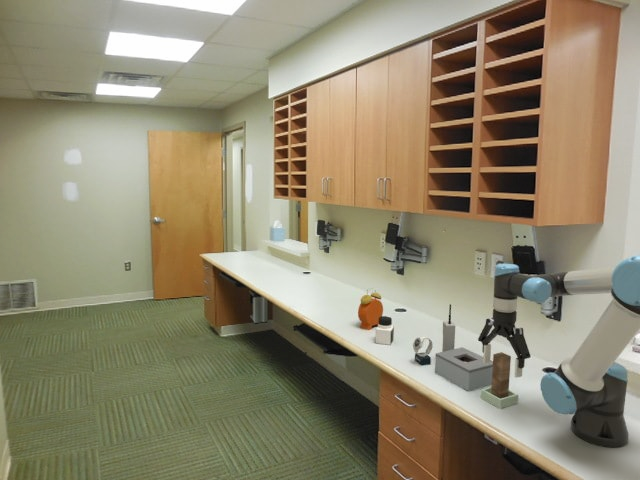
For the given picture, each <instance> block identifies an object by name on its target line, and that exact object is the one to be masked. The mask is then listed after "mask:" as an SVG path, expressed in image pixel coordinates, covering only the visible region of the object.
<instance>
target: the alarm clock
mask: <svg viewBox="0 0 640 480" xmlns="http://www.w3.org/2000/svg"><path fill="white" fill-rule="evenodd" d="M371 289H373V287H372V288H370V290H371ZM368 291H369V288H368V289H367V290H366V293H368ZM381 300H382V295H380V294H379V292H376V291H374V292H372V293H371V294H369V295H368V294H364V295H363V296H361V298H360V304H359V306H358V309H357V317H358V320H359V321H360V322H361V324H360V329H364V330H365V331H370V330H372V327H373V326H374V327H375V326H376V327H378V324H379V317H381V316H383V314H384V306H383V303H382V301H381Z"/></svg>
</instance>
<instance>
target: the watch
mask: <svg viewBox="0 0 640 480" xmlns="http://www.w3.org/2000/svg"><path fill="white" fill-rule="evenodd" d="M425 340H428V341H429V343H428V346H427V348H426V350H425V352H419V350H420V349H421V348H422V347H423V344H424V342H425ZM433 345H434V343H433V342H432V340H431V339H430V338H429V337H427V336H419V337H417V338H415V339H414V341H413V343H412V348H413V351H414V352H415V353H414V362H416V363H417V364H418V365H420V366H421V367H422V366H430V365H431V364H432V363H431V361H432V359H431V356H429V354H430V353H431V352H432V349H433Z"/></svg>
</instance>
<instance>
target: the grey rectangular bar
mask: <svg viewBox="0 0 640 480" xmlns="http://www.w3.org/2000/svg"><path fill="white" fill-rule="evenodd" d="M448 309H449V313H448V320H445V321H444V320H443V321H442V351H441V352H444V351H448V350H453V349H455V343H456V342H455V341H456V340H455V339H456V324H454V322H453V321H451V320H452V315H451V314H452V312H451V311H452V304H451V303H450V304H449V308H448Z"/></svg>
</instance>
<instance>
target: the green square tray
mask: <svg viewBox="0 0 640 480" xmlns="http://www.w3.org/2000/svg"><path fill="white" fill-rule="evenodd" d="M480 399H482V400H483V401H486V402H487V403H489V404H491V405H493V406H494V407H496V408H498V409H503V408H506V407H510V406H513V405H516V404H518V402H519V394H518V393H516V392H514V391H512V390H510V389H509V393H508V397H505V398H501V399H500V398H498V397H496V396H494V395H492V394H491V386H488V387H485V388H481V390H480Z"/></svg>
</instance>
